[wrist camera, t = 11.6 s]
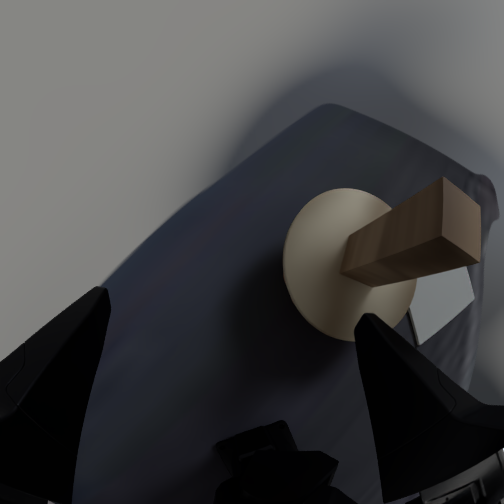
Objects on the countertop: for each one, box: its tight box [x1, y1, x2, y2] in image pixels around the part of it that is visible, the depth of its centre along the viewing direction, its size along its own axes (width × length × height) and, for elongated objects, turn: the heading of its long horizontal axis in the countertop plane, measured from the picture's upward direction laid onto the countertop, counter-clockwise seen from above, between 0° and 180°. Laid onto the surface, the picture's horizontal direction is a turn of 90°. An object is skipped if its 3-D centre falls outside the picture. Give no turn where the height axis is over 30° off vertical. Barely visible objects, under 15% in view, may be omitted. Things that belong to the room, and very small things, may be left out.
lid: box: [283, 177, 481, 341], centre depth 14 cm, size 12×12×11 cm
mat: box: [408, 266, 475, 345], centre depth 26 cm, size 12×12×1 cm
